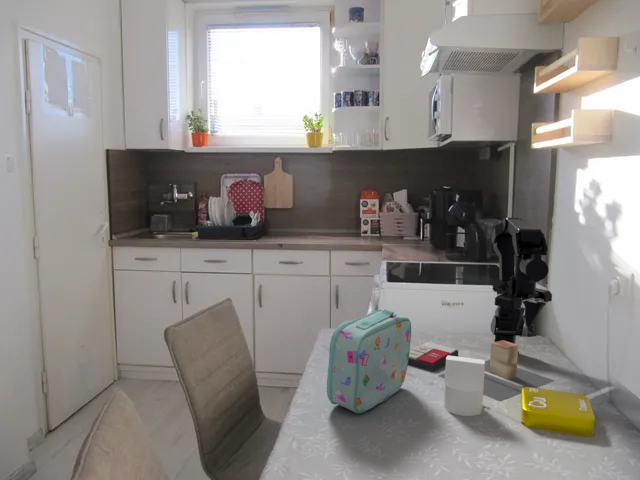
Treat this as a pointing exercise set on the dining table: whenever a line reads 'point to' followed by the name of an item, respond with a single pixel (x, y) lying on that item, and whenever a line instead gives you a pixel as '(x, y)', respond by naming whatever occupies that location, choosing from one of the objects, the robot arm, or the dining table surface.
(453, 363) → the cylinder with rectangular tab
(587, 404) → the element tile
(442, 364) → the calculator
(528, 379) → the mat
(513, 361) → the beech block
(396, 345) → the lunch box
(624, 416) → the dining table surface
